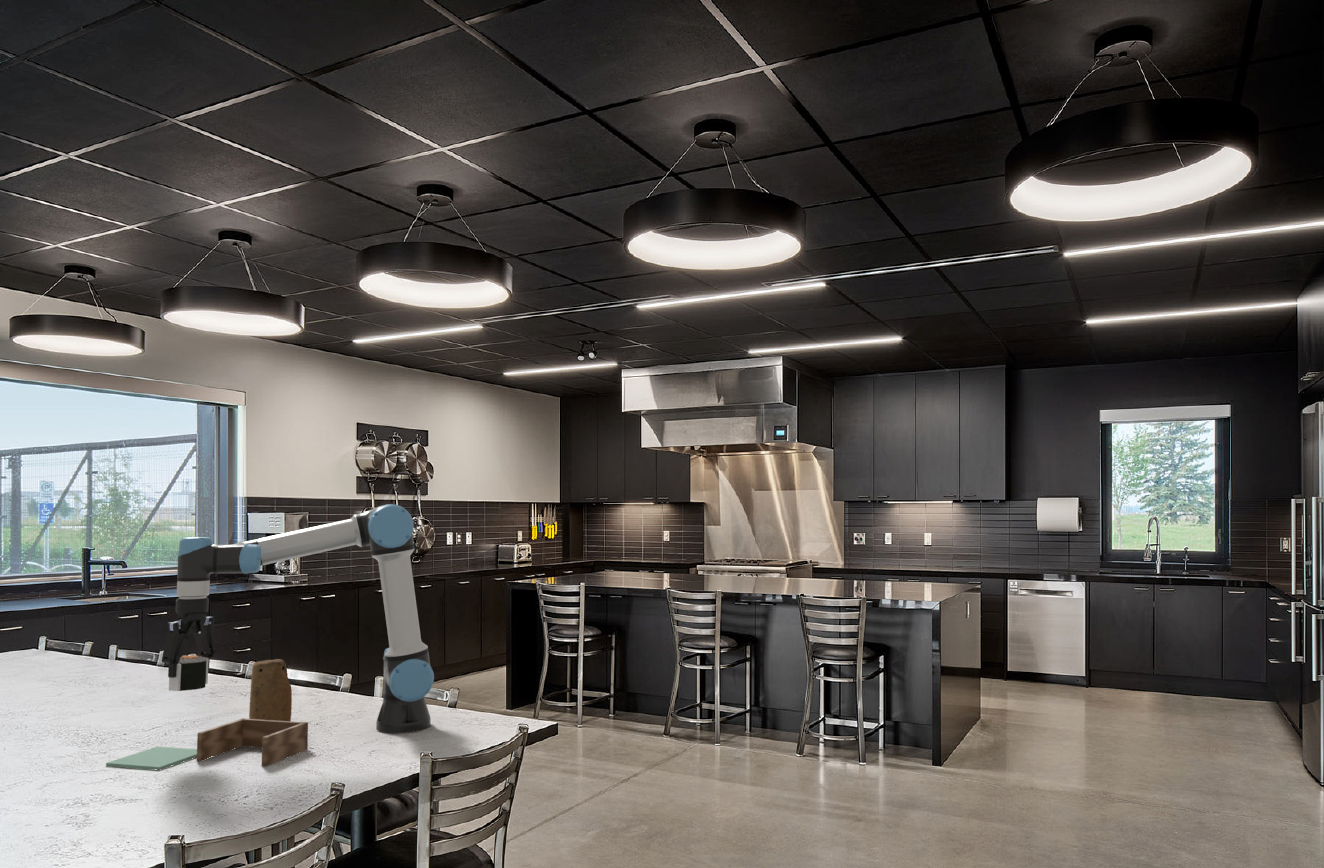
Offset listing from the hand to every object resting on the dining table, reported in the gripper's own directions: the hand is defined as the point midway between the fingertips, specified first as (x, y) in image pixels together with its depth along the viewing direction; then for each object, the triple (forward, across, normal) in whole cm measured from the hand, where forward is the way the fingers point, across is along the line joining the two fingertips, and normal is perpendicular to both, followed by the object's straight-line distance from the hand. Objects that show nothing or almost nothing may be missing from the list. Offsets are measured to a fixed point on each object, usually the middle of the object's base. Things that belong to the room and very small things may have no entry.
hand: (188, 686), depth 231 cm
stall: (+18, -8, +14) cm, 24 cm away
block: (+18, -31, +1) cm, 36 cm away
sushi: (0, 0, 0) cm, 0 cm away
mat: (+18, +1, -7) cm, 20 cm away
